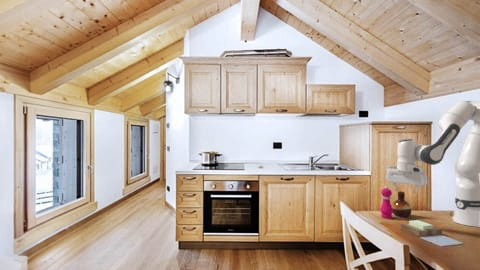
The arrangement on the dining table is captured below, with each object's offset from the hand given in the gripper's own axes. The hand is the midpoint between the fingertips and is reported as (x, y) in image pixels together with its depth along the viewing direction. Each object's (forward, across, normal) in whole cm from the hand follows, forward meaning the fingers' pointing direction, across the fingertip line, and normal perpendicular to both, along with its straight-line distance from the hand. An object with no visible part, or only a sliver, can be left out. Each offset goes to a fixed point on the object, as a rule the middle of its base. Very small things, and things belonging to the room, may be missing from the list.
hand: (405, 191), depth 155 cm
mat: (+20, +19, -12) cm, 29 cm away
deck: (+20, +8, -5) cm, 22 cm away
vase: (+20, -8, +22) cm, 31 cm away
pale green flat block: (+17, +8, -5) cm, 19 cm away
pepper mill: (+20, -14, +11) cm, 27 cm away
